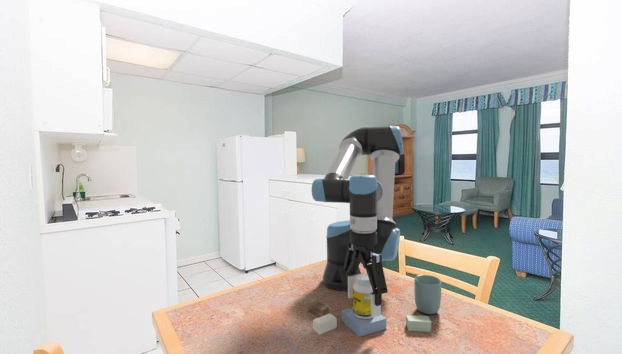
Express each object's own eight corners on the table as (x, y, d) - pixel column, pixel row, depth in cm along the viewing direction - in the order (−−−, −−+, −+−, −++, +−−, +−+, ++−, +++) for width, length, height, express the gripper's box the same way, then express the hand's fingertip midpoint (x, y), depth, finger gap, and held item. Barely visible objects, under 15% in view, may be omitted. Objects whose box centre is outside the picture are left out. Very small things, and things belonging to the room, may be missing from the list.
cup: (443, 319, 88) (444, 285, 87) (415, 316, 90) (416, 284, 89) (437, 306, 96) (438, 275, 95) (412, 304, 97) (412, 274, 97)
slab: (342, 320, 88) (341, 310, 88) (367, 313, 92) (367, 304, 91) (358, 337, 80) (358, 326, 80) (386, 328, 83) (386, 318, 83)
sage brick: (408, 331, 83) (408, 320, 82) (406, 325, 85) (406, 315, 85) (431, 332, 82) (431, 321, 82) (428, 326, 85) (428, 316, 85)
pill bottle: (349, 310, 88) (349, 273, 87) (369, 307, 89) (368, 271, 89) (358, 321, 82) (358, 282, 81) (378, 318, 83) (378, 279, 83)
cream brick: (319, 335, 81) (319, 324, 81) (313, 330, 84) (313, 319, 84) (336, 328, 85) (336, 317, 84) (330, 323, 87) (330, 313, 87)
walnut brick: (308, 312, 93) (308, 303, 93) (315, 309, 95) (315, 299, 95) (322, 319, 89) (322, 310, 89) (329, 316, 91) (329, 306, 91)
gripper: (331, 223, 93) (332, 291, 95) (377, 242, 72) (377, 330, 73) (352, 220, 96) (352, 287, 98) (402, 238, 75) (402, 323, 76)
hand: (363, 305), depth 85 cm, fingers open, 11 cm apart
